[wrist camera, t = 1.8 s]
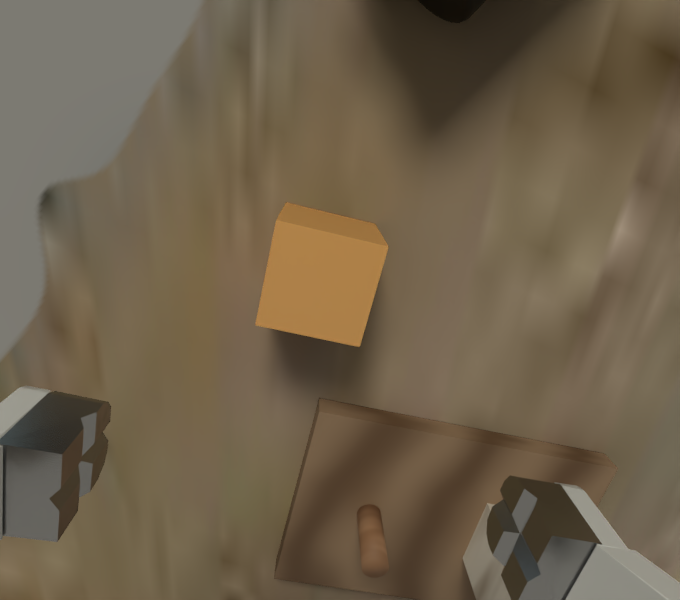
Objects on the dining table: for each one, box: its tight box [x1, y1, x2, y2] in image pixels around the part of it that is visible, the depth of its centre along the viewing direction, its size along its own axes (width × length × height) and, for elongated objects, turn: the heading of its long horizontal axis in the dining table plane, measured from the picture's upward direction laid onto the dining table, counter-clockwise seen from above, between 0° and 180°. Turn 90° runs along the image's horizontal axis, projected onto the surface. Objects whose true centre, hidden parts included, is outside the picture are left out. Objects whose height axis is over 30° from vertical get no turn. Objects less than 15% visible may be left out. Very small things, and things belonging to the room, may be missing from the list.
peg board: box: [274, 398, 618, 600], centre depth 29 cm, size 20×14×7 cm
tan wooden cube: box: [255, 202, 389, 347], centre depth 23 cm, size 5×5×6 cm
